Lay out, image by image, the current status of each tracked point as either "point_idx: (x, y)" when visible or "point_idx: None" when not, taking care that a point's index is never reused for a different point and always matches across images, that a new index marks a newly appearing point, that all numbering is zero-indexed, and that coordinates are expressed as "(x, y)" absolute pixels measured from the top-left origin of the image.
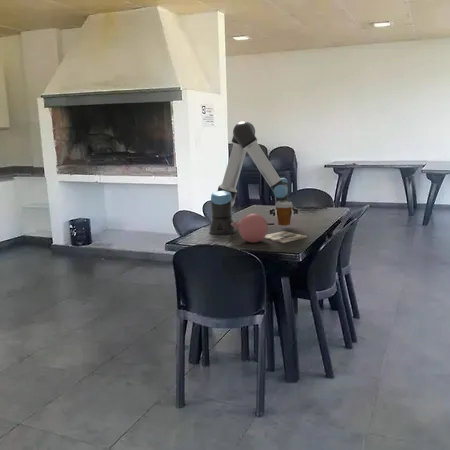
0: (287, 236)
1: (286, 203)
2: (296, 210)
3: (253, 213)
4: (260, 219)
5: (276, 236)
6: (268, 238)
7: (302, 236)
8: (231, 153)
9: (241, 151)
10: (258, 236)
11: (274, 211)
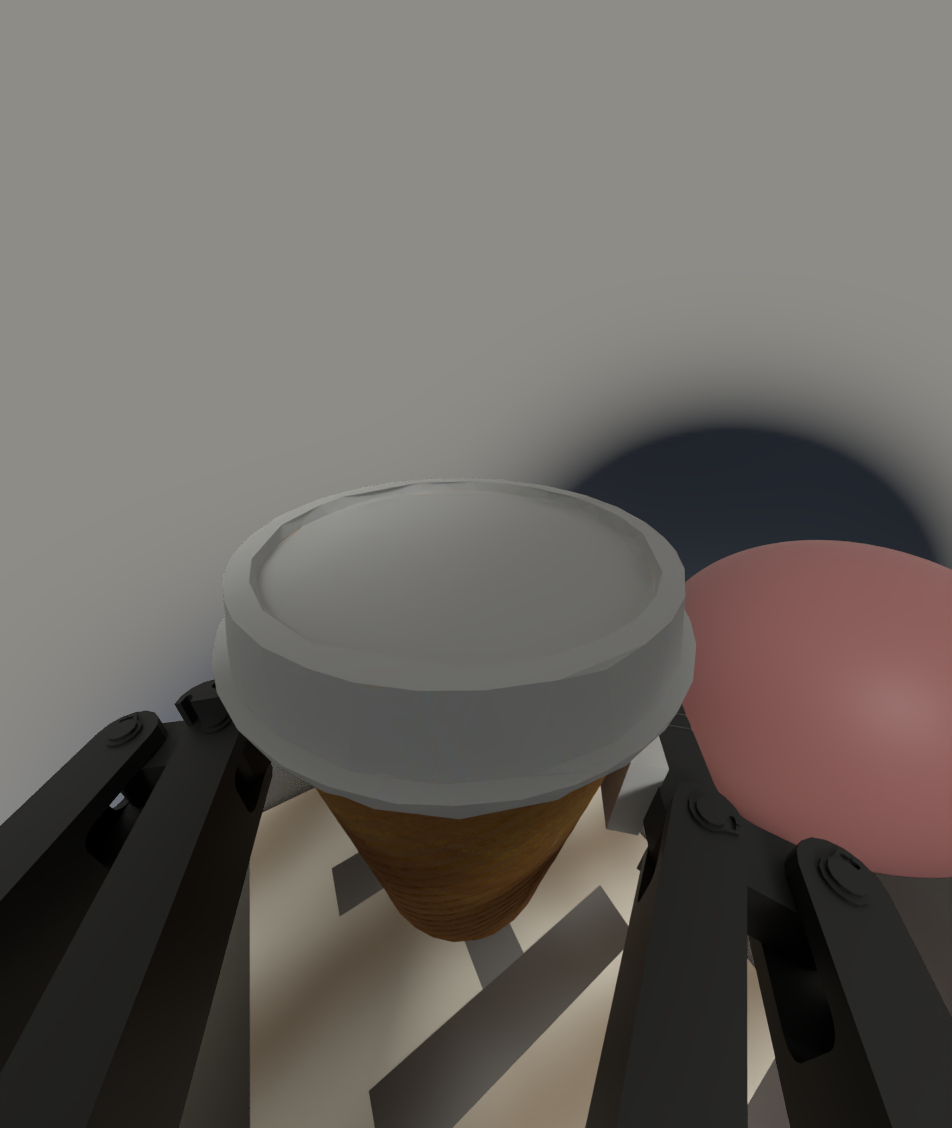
0: None
1: (407, 529)
2: (172, 723)
3: (901, 569)
4: (728, 556)
5: (559, 899)
6: (642, 839)
7: (299, 814)
8: None
9: None
10: None
11: (665, 751)
